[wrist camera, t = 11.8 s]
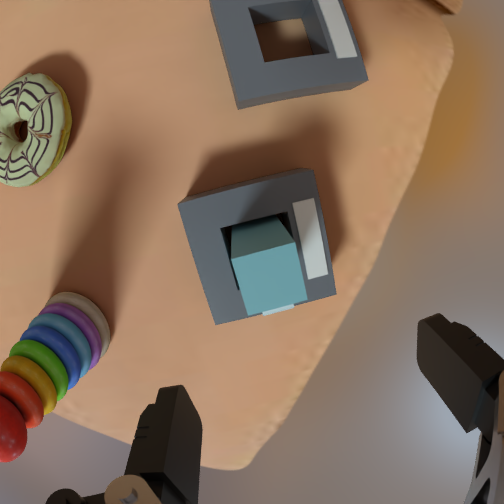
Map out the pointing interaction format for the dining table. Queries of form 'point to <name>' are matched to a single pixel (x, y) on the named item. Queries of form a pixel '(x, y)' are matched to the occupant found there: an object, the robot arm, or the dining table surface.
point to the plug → (266, 266)
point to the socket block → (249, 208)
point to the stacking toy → (48, 365)
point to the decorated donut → (32, 129)
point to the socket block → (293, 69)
